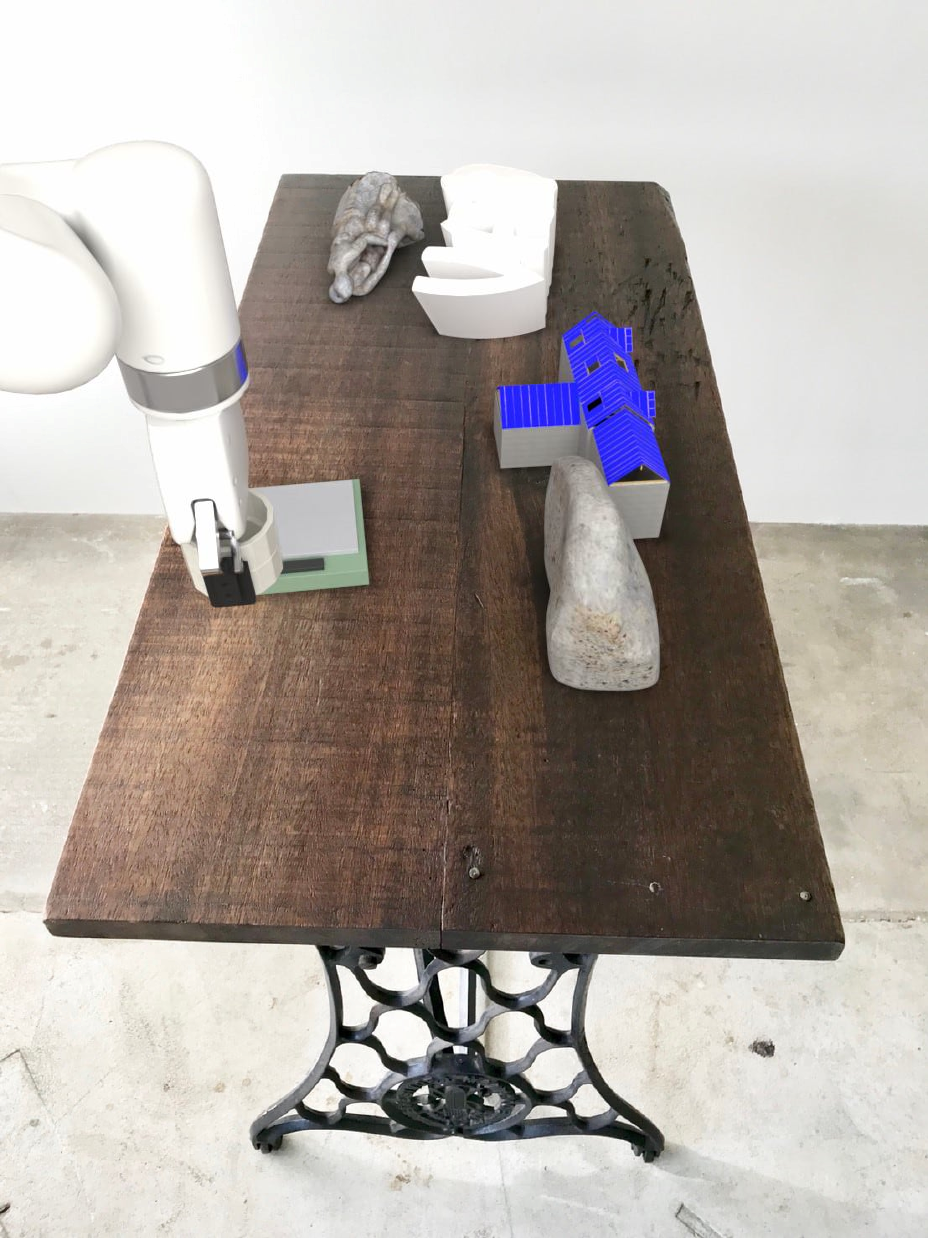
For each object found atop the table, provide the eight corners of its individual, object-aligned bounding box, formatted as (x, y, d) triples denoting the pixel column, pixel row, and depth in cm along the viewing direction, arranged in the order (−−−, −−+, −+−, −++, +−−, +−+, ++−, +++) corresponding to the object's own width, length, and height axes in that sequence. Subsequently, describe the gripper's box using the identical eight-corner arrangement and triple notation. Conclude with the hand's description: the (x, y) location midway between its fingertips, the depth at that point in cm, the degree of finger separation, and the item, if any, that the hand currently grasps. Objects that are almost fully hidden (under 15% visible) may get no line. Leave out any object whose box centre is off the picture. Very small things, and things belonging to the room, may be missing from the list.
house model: (664, 536, 96) (681, 458, 88) (514, 546, 95) (518, 467, 88) (616, 386, 112) (627, 309, 105) (487, 393, 111) (489, 316, 104)
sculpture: (379, 347, 126) (294, 310, 124) (416, 258, 135) (337, 222, 133) (401, 287, 117) (309, 246, 115) (439, 195, 126) (354, 155, 124)
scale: (230, 597, 91) (225, 578, 89) (233, 504, 99) (229, 485, 97) (369, 584, 92) (367, 565, 90) (360, 493, 100) (358, 474, 98)
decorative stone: (661, 710, 82) (544, 714, 82) (625, 544, 95) (524, 548, 95) (697, 577, 70) (559, 582, 69) (650, 407, 82) (533, 410, 82)
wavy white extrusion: (535, 368, 114) (541, 287, 107) (400, 353, 116) (395, 272, 108) (568, 226, 137) (575, 150, 129) (454, 215, 139) (454, 140, 131)
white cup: (188, 609, 71) (171, 555, 66) (195, 543, 75) (179, 488, 71) (283, 601, 71) (272, 547, 67) (284, 535, 76) (273, 481, 71)
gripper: (137, 291, 65) (193, 491, 78) (103, 459, 53) (176, 659, 67) (250, 284, 65) (287, 484, 79) (241, 449, 54) (286, 650, 67)
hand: (236, 563), depth 73 cm, fingers closed on white cup, 7 cm apart
